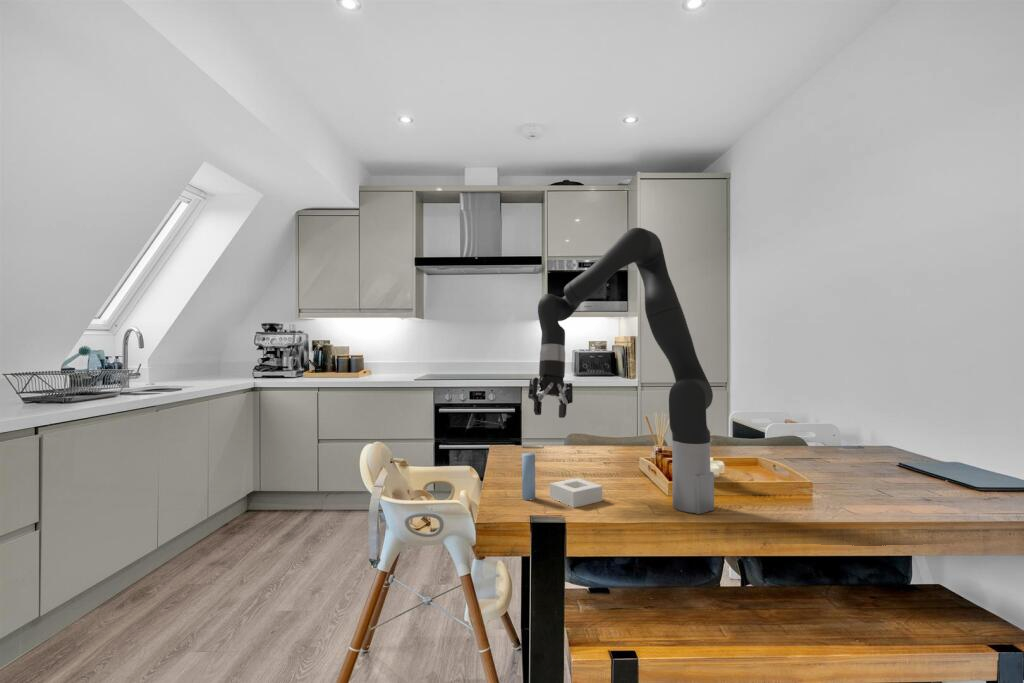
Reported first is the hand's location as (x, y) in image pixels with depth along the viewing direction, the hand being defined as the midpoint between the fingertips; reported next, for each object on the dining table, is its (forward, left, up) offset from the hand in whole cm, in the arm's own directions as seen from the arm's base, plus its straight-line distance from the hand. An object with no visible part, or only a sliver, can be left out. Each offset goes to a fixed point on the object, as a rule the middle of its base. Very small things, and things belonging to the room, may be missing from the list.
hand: (550, 416), depth 151 cm
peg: (-3, +10, -21) cm, 24 cm away
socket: (-11, 0, -21) cm, 24 cm away
